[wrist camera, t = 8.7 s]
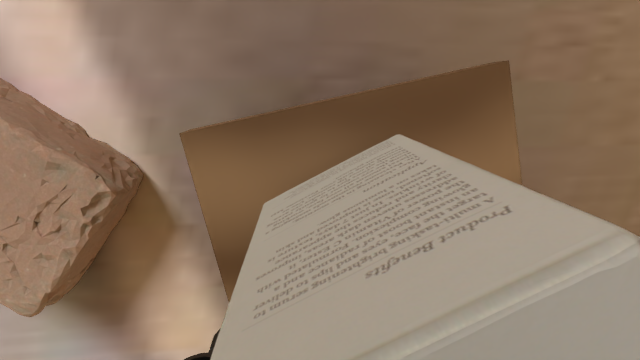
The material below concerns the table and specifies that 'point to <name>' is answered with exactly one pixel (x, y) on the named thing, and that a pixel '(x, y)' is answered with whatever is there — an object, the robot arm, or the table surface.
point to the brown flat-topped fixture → (343, 145)
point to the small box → (430, 269)
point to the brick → (53, 201)
